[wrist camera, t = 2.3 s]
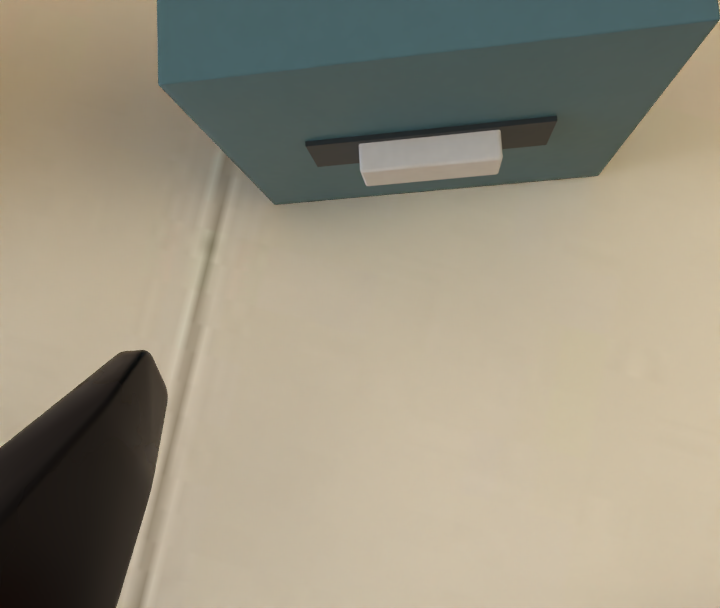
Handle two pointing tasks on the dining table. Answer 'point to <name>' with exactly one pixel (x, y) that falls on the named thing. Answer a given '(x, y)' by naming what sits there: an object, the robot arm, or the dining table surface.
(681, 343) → the dining table surface
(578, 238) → the dining table surface
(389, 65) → the small tissue box
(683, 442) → the dining table surface
